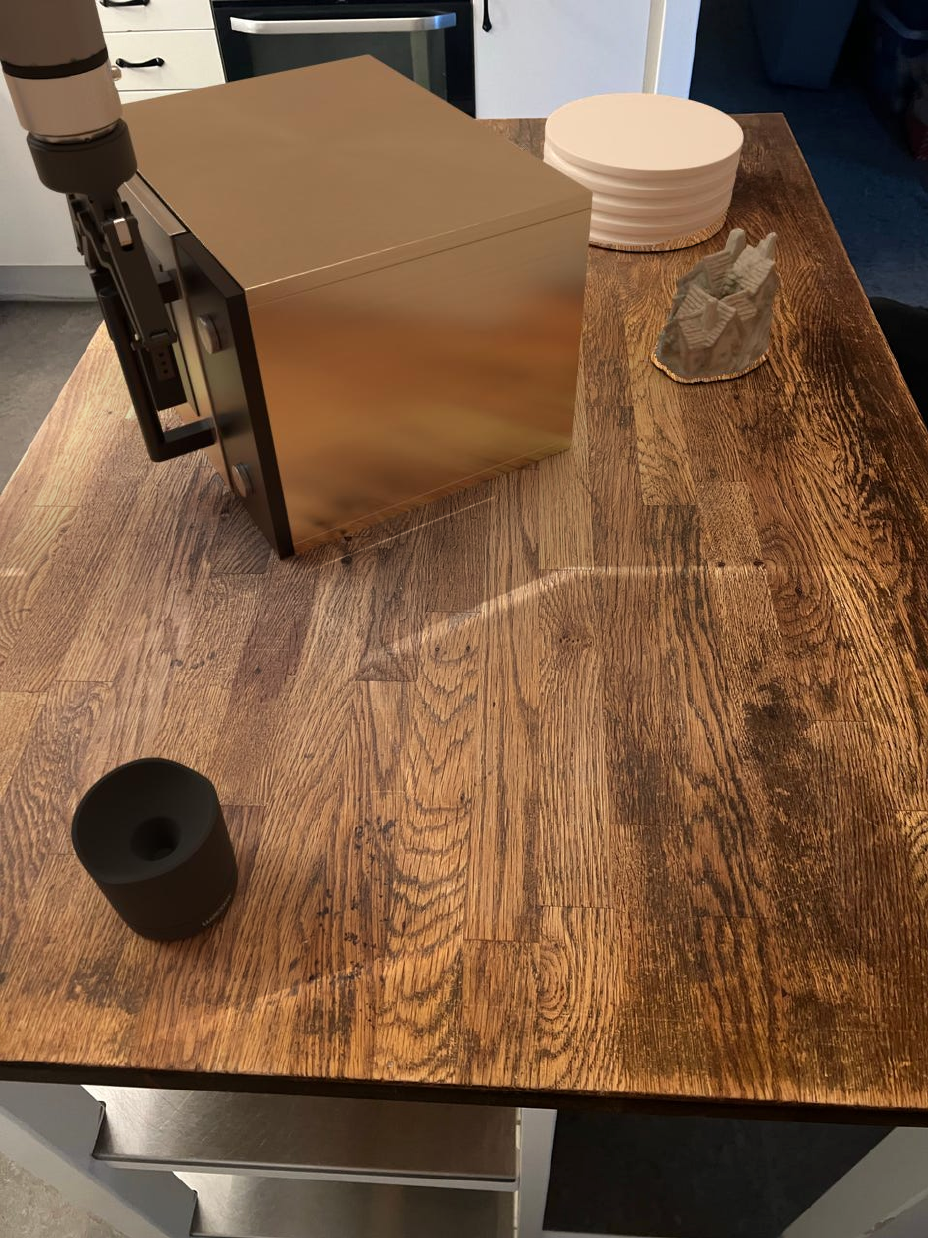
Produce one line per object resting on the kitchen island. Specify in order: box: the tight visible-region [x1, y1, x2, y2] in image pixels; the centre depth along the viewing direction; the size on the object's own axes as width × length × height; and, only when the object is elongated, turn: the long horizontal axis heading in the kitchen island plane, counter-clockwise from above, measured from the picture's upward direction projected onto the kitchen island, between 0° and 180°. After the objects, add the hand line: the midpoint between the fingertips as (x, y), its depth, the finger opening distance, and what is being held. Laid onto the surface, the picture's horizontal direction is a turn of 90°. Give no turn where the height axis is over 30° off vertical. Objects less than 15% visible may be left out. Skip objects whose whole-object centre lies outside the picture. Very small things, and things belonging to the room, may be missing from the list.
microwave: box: [120, 53, 593, 561], centre depth 102 cm, size 35×44×28 cm
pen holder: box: [70, 756, 239, 943], centre depth 67 cm, size 9×9×10 cm
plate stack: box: [542, 92, 744, 246], centre depth 141 cm, size 28×28×12 cm
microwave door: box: [98, 173, 235, 492], centre depth 99 cm, size 8×32×28 cm, turn 31°
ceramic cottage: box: [652, 227, 782, 380], centre depth 114 cm, size 16×16×15 cm
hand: (147, 369), depth 88 cm, fingers open, 13 cm apart
